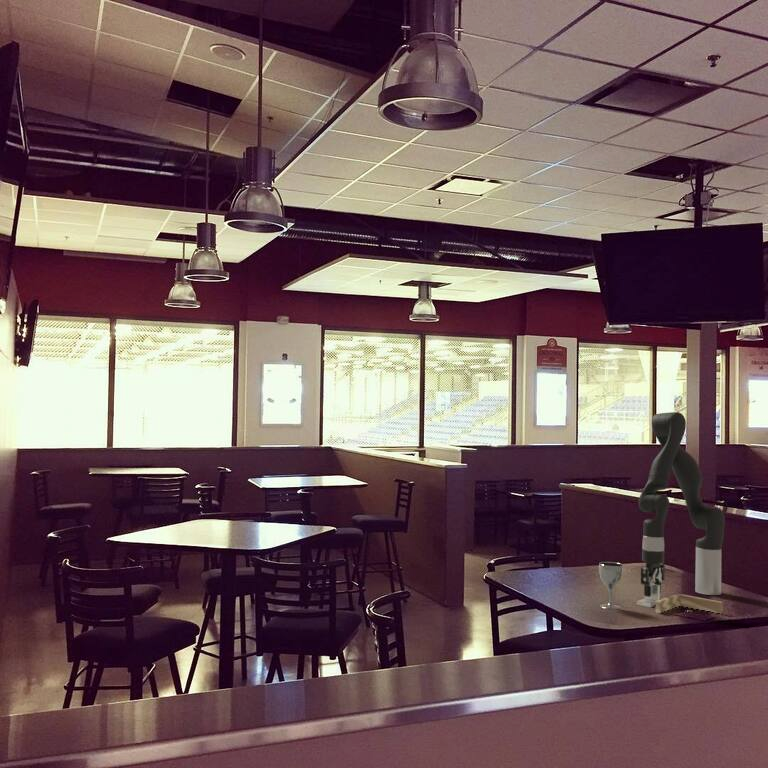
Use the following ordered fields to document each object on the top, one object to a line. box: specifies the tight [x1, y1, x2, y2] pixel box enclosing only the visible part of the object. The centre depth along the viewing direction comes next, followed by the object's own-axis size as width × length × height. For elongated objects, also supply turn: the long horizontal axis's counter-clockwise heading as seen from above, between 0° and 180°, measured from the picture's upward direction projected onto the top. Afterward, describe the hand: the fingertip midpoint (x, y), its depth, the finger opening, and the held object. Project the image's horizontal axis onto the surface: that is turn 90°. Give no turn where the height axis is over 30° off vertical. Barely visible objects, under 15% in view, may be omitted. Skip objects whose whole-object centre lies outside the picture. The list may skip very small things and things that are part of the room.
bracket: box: [636, 583, 661, 608], centre depth 279 cm, size 7×5×7 cm
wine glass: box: [598, 561, 624, 610], centre depth 274 cm, size 8×8×15 cm
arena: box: [654, 593, 724, 615], centre depth 268 cm, size 18×16×4 cm
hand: (652, 594), depth 282 cm, fingers open, 7 cm apart
